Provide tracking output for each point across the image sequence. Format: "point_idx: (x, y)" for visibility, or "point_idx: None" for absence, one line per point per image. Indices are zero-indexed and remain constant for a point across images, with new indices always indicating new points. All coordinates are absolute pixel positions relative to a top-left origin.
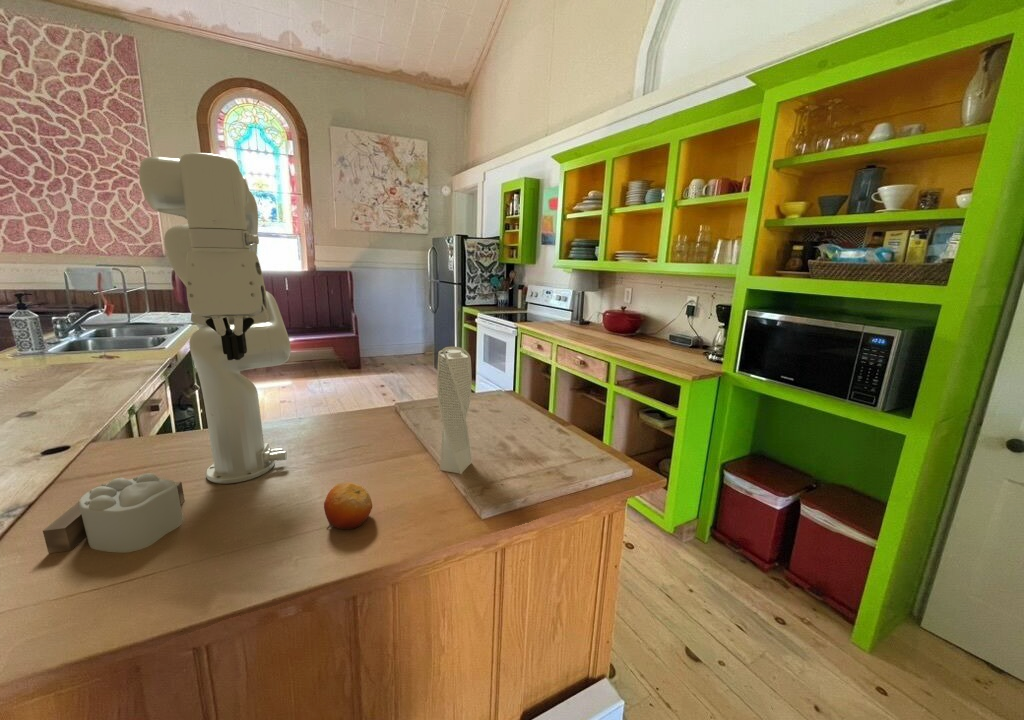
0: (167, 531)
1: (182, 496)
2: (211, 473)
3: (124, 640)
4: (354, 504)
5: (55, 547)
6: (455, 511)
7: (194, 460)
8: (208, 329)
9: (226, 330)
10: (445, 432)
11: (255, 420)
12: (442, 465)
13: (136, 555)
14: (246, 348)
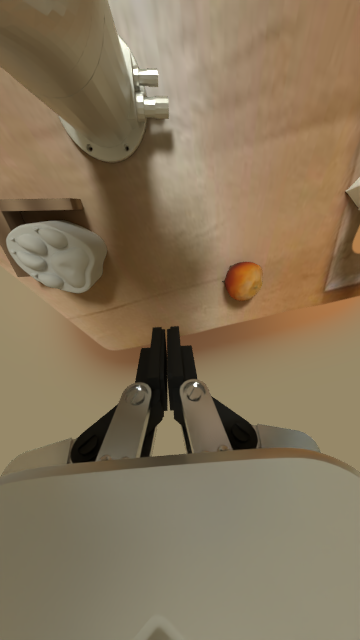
0: (103, 261)
1: (78, 202)
2: (71, 129)
3: (141, 343)
4: (250, 298)
5: None
6: (313, 278)
7: None
8: None
9: (155, 425)
10: None
11: (116, 71)
12: (353, 190)
13: (100, 285)
14: (191, 350)
